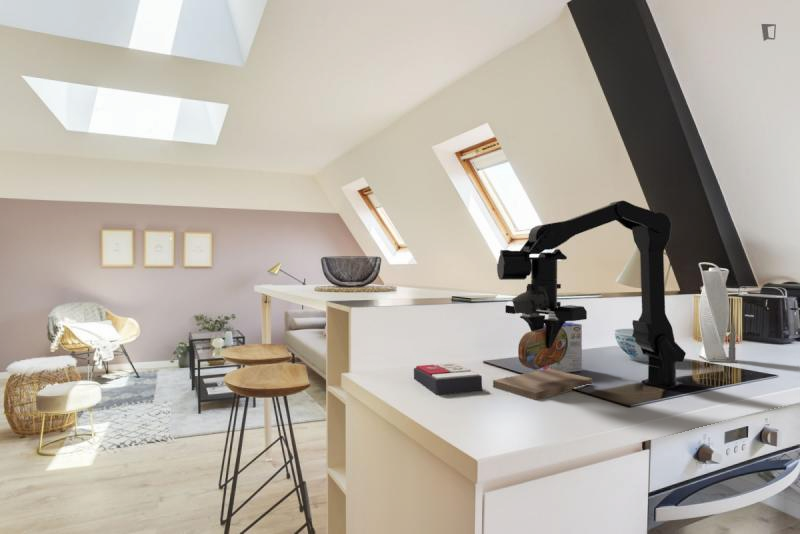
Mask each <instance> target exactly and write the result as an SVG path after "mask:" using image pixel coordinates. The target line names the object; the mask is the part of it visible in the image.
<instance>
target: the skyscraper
mask: <svg viewBox="0 0 800 534" xmlns="http://www.w3.org/2000/svg"><path fill="white" fill-rule="evenodd" d="M702 265H708V266H713V267H709V268H708V270H703V267H702ZM698 267H699V269H700V273H701V277H702V283H703V286H702V289H701V294H700V296H699V298H700V299H699V304H698V305H699V308H698V320H699V331H700V337H701V341H702V347H701V349H700V351H699V354H698V357H699V358H700V359H702V360H705V361H707V362H710V363H725V364H726V363H727V364H729V363H730V364H737V363H738V360H736V332H735V323H734V317H733V316H732V317H731V323H730V311H731V310H730V308H731V307H730V306H731V305H730V298H729V297H730V296H729V294H728V289H727V285H726V283H727V280H728V276H729V273H730V270H729V269H728V268H722V267H719V266H718V265H717V264H715V263H712V262H707V261H706V262H699V263H698ZM729 323H730V332H729V338H728V339H729V340H728V342H729V343H728V346H729V347H728V357H727V354H726V351H725V348H724V344H725V340H726V337H727V332H728V330H729V329H728V327H729Z"/></svg>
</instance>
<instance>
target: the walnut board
mask: <svg viewBox="0 0 800 534" xmlns="http://www.w3.org/2000/svg"><path fill="white" fill-rule="evenodd" d="M586 384H592V385H593V379H592V378H591V377H587V376H582V375H577V374H572V373H571V372H561V371H557V370H553V369H545V370H540V369H539V370H535V371H532V372H526V373H522V374H518V375H513V376H508V377H504V378H499V379H493V380H492V388H495V389H498V390H502V391H506V392H508V393H512V394H514V395H518V396H522V397H525V398H528V399H530V400H533V401H537V400H540V399H544V398H545V399H546V398H549V397H552V396H556V395H559V394H563V393H567V392H571V391H573V390H572V389H573V388H574V387H578V386H582V385H586Z"/></svg>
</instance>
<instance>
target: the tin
mask: <svg viewBox="0 0 800 534" xmlns="http://www.w3.org/2000/svg"><path fill="white" fill-rule="evenodd" d="M567 347H568V338H567V334H566V332H565V331H564V330H563V329H562V328H561V329H560V331H559V333H558V335H557V337H556V339H555V341H554V343H553V345H552V347H551V348H550V349H547V347H546V327H545V328H542V329H538V330H535V331H531V330H530V331H528V332H526V333H524V334H523V336H522V337H520V341H519V343H518V347H517V348H518V349H517V352H518V353H517V354H518V361H519V363H520V364H521V365H522V366H524V367H525V368H528V369H531V370H535V371H538V370H540V368H543V367H546V366H549V365H552V364H555V363H558V362H560V361H561V360H562V359H563V357H564V356H565V354H566V351H567Z"/></svg>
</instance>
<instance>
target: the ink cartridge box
mask: <svg viewBox="0 0 800 534" xmlns="http://www.w3.org/2000/svg"><path fill="white" fill-rule="evenodd" d="M545 327H546V325H545V323H544V328H545ZM582 327H583V325H582V324H580V323H575V322H572V321H565V323H564V324H563V326H562V329H563V330H564V331H565V332H566V334H567V338H568V347H567V351H566V354H565V356H564V357H563V359H562V360H561V361H560V362H558V363H555V364H552V365H549V366H546V367H543V368H540V369H539V371H540V370H545V369H553V370H557V371H561V372H566V373H572V372H573V373H574V372H582V371H583V368H582V367H583V360H582V359H583V356H582V355H583V354H582V353H583V348H582V347H583V344H582V343H583V342H582V341H583V339H582V338H583V335H582V329H583V328H582Z"/></svg>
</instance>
